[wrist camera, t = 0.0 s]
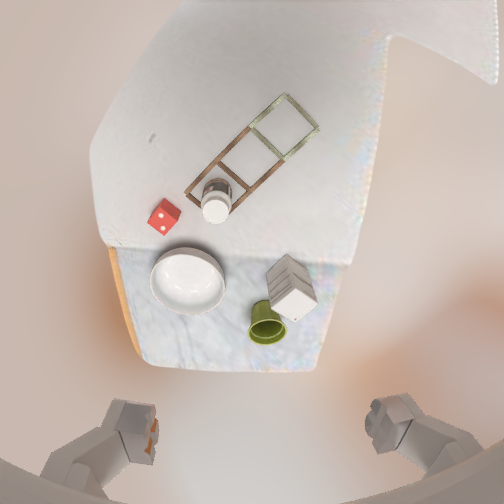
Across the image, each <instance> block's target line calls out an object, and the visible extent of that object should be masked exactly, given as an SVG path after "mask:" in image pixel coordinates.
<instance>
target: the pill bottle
mask: <svg viewBox="0 0 504 504" xmlns="http://www.w3.org/2000/svg"><path fill="white" fill-rule="evenodd" d="M231 208H232V190H231V187H230V185H229V184H228V183H227V182H226V181H224V180H222V179H213V180H211V181H209V182H208V183H207V184H206V186H205V187H204V191H203V195H202V200H201V209H202V214H203V217H204V219H205V220H206V221H208V222H209V223H212V224H219V223H222V222H224V221H225V220H226V219H227V217H228V215H229V212H230V210H231Z"/></svg>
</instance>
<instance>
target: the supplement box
mask: <svg viewBox="0 0 504 504" xmlns="http://www.w3.org/2000/svg"><path fill="white" fill-rule="evenodd" d="M266 277H267V285H268V292H269V299H270V307H271V309H272V310H274V311H275V312H277V313H279V314H280V315H282V316H284V317H285V318H287V319H289V320H290V321H292V322H294V323H295V322H296V321H298V320H299V319H300V318H302V317H303V316H304V315H305V314H307V313H308V312H309V311H310V310H312V309H313V308H314V307H315V306H316V305H318V302H317V299H316V296H315V292H314V289H313V286H312V283H311V280H310V277H309V274H308V271H307V269H306V268H304V267H303V266H301V265H300V264H299V263H297V262H296V261H295V260H293V259H292V258H291V257H290V256H288V255H287V254H286V255H285V256H284V257H283V258H282V259H280V260H279V261H278V262H277V263H276V264H275V265H274V266H273V267H272V268H271V269H270V270H269V271H268V272H267V273H266Z"/></svg>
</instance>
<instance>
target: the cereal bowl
mask: <svg viewBox="0 0 504 504" xmlns="http://www.w3.org/2000/svg"><path fill="white" fill-rule="evenodd" d="M150 287H151V290H152V293H153V295H154V296H155V298H156V299H157V300H158V301H159V302H160V303H161V304H162V305H163V306H164V307H166V308H167V309H169V310H171V311H173V312H176V313H179V314H184V315H199V314H203V313H206V312H209V311H211V310H212V309H214V308H215V307H217V306H218V305H219V303H220V302H221V301H222V299H223V297H224V293H225V278H224V274H223V271H222V269H221V267H220V265H219V264H218V262H217V261H216V260H215V259H214V258H213V257H212V256H210V255H209V254H207V253H205V252H204V251H201V250H199V249H195V248H190V247H189V248H188V247H182V248H176V249H173V250H170V251H168V252H166V253H165V254H163V255H162V256H161V257H160V258H159V259H158V260H157V262H156V263H155V265H154V266H153V268H152V271H151V274H150Z"/></svg>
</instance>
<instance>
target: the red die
mask: <svg viewBox="0 0 504 504" xmlns="http://www.w3.org/2000/svg"><path fill="white" fill-rule="evenodd" d="M180 213H181V211H180V210H179V209H178V208H176V207H175V206H174V205H173V204H171V203H170V202H169V201H167V200H166V199H165V198H164V200H163V201H162V202H161V203H160V204H159V205H158V207H157V208H156V209H155V210H154V211H153V213H152V214H151V216H150V218H149V220H148V222H147V223H148V224H150V225H151V226H152V227H153V228H155V229H156V230H157V231H159V232H160V233H161V234H163V235H164V236H165V234H166V233H167V232H168V231H169V230H170V229H171V228H172V227H173V226H174V224H175V223H176V222H177V221H178V218H179V216H180Z"/></svg>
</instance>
